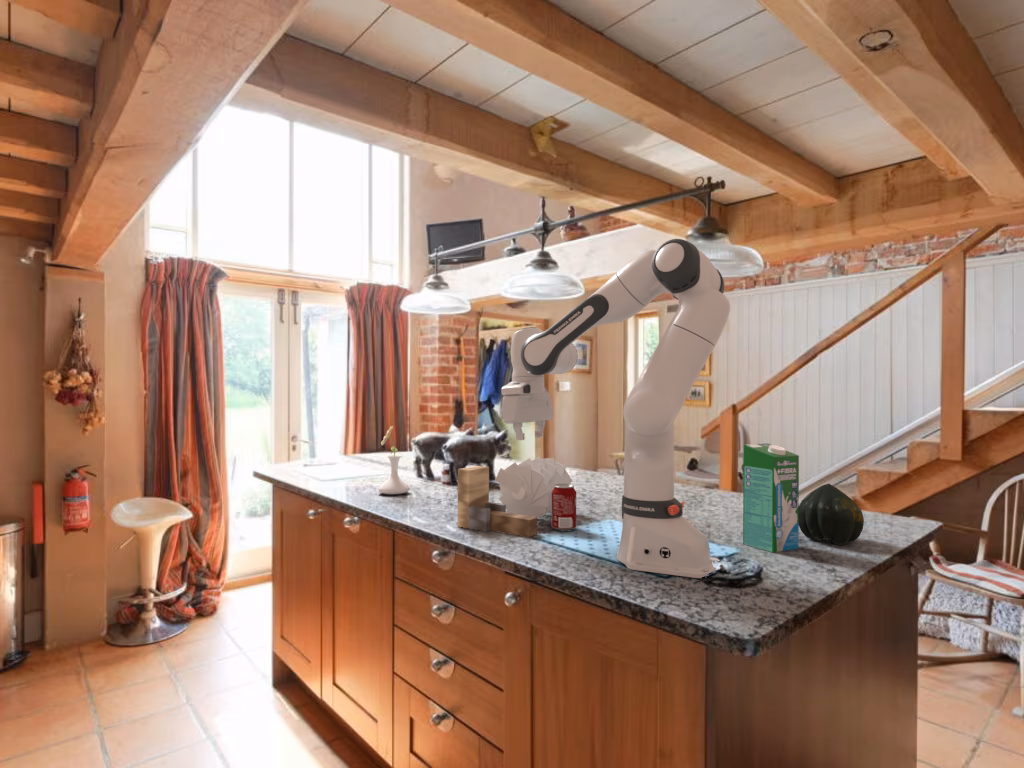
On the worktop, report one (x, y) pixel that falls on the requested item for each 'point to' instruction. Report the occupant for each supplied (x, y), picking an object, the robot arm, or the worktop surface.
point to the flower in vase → (393, 473)
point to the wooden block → (513, 523)
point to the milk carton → (770, 498)
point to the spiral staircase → (531, 485)
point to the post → (475, 498)
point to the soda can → (563, 507)
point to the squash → (830, 516)
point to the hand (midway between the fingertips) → (530, 438)
